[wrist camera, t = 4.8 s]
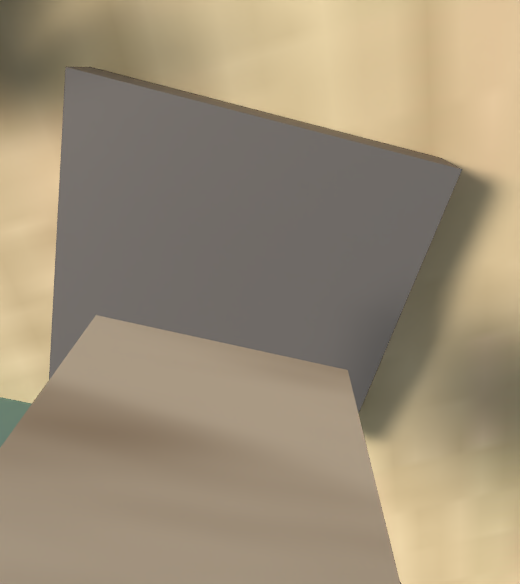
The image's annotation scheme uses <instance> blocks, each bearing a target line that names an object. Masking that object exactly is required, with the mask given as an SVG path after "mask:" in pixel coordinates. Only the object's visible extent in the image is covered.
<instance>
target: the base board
mask: <svg viewBox="0 0 520 584" xmlns="http://www.w3.org/2000/svg"><path fill="white" fill-rule="evenodd" d="M461 171H462V169H460V168H459V167H457V166H455V165H453V164H451V163H449V162H447V161H446V160H444V159H442V158H439V157H435V156H431V155H428V154H424V153H420V152H416V151H412V150H408V149H404V148H401V147H397V146H393V145H389V144H385V143H381V142H378V141H374V140H370V139H366V138H362V137H358V136H354V135H351V134H347V133H343V132H339V131H335V130H331V129H327V128H324V127H320V126H316V125H312V124H308V123H304V122H300V121H297V120H293V119H289V118H285V117H281V116H277V115H273V114H270V113H266V112H262V111H258V110H254V109H250V108H246V107H243V106H239V105H235V104H231V103H227V102H223V101H220V100H216V99H212V98H208V97H204V96H200V95H196V94H193V93H189V92H185V91H181V90H177V89H173V88H169V87H166V86H162V85H158V84H154V83H150V82H146V81H142V80H139V79H135V78H131V77H127V76H123V75H119V74H115V73H112V72H108V71H104V70H100V69H96V68H92V67H66V70H65V89H64V107H63V126H62V145H61V164H60V183H59V202H58V221H57V240H56V259H55V277H54V296H53V315H52V334H51V353H50V372H49V380H50V378H51V377H52V375H53V374H54V373H55V371H56V370H57V368H58V367H59V366H60V364H61V363H62V362H63V360H64V359H65V357H66V356H67V355H68V353H69V352H70V350H71V349H72V348H73V346H74V345H75V343H76V342H77V341H78V339H79V338H80V337H81V335H82V334H83V332H84V331H85V330H86V328H87V327H88V325H89V324H90V323H91V321H92V320H93V319H94V317H95V316H96V315H98V316H103V317H107V318H112V319H116V320H121V321H125V322H130V323H135V324H139V325H144V326H148V327H153V328H157V329H162V330H167V331H171V332H176V333H180V334H185V335H190V336H194V337H199V338H203V339H208V340H212V341H217V342H222V343H226V344H231V345H235V346H240V347H245V348H249V349H254V350H258V351H263V352H267V353H272V354H277V355H281V356H286V357H290V358H295V359H300V360H304V361H309V362H313V363H318V364H322V365H327V366H332V367H336V368H341V369H345V370H348V373H349V377H350V381H351V385H352V389H353V394H354V398H355V402H356V406H357V410H358V414H359V411H360V409H361V407H362V404H363V402H364V400H365V397H366V395H367V393H368V390H369V388H370V385H371V383H372V381H373V378H374V376H375V374H376V371H377V369H378V367H379V364H380V362H381V359H382V357H383V355H384V352H385V350H386V348H387V345H388V343H389V341H390V338H391V336H392V333H393V331H394V329H395V326H396V324H397V322H398V319H399V317H400V315H401V312H402V310H403V308H404V305H405V303H406V300H407V298H408V296H409V293H410V291H411V289H412V286H413V284H414V282H415V279H416V277H417V274H418V272H419V270H420V267H421V265H422V263H423V260H424V258H425V256H426V253H427V251H428V249H429V246H430V244H431V241H432V239H433V237H434V234H435V232H436V230H437V227H438V225H439V223H440V220H441V218H442V215H443V213H444V211H445V208H446V206H447V204H448V201H449V199H450V197H451V194H452V192H453V189H454V187H455V185H456V182H457V180H458V178H459V175H460V173H461Z"/></svg>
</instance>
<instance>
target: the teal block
mask: <svg viewBox="0 0 520 584" xmlns="http://www.w3.org/2000/svg"><path fill="white" fill-rule="evenodd" d="M30 406H31V404H30V403H26V402H21V401H16V400H11V399H6V398H1V397H0V447H1V446H2V445H3V443H4V442H5V441H6V439H7V438H8V436H9V435H10V434H11V432H12V431H13V429H14V428H15V427H16V425H17V424H18V422H19V421H20V420H21V418H22V417H23V416H24V414H25V413H26V411H27V410H28V409H29V407H30Z"/></svg>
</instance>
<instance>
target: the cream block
mask: <svg viewBox="0 0 520 584" xmlns="http://www.w3.org/2000/svg"><path fill="white" fill-rule="evenodd" d="M0 584H400V580H399V576H398V572H397V568H396V564H395V560H394V556H393V552H392V548H391V544H390V539H389V535H388V531H387V527H386V523H385V519H384V515H383V511H382V507H381V503H380V499H379V495H378V491H377V487H376V483H375V479H374V475H373V471H372V467H371V462H370V458H369V454H368V450H367V446H366V442H365V438H364V434H363V430H362V426H361V422H360V418H359V414H358V410H357V406H356V402H355V398H354V394H353V389H352V385H351V381H350V377H349V373H348V370H345V369H341V368H336V367H332V366H327V365H322V364H318V363H313V362H309V361H304V360H300V359H295V358H290V357H286V356H281V355H277V354H272V353H267V352H263V351H258V350H254V349H249V348H245V347H240V346H235V345H231V344H226V343H222V342H217V341H212V340H208V339H203V338H199V337H194V336H190V335H185V334H180V333H176V332H171V331H167V330H162V329H157V328H153V327H148V326H144V325H139V324H135V323H130V322H125V321H121V320H116V319H112V318H107V317H103V316H98V315H96V316H95V317H94V319H93V320H92V321H91V323H90V324H89V325H88V327H87V328H86V330H85V331H84V332H83V334H82V335H81V337H80V338H79V339H78V341H77V342H76V343H75V345H74V346H73V348H72V349H71V350H70V352H69V353H68V355H67V356H66V357H65V359H64V360H63V362H62V363H61V364H60V366H59V367H58V368H57V370H56V371H55V373H54V374H53V375H52V377H51V378H50V380H49V381H48V382H47V384H46V385H45V386H44V388H43V389H42V391H41V392H40V393H39V395H38V396H37V398H36V399H35V400H34V402H33V403H32V404H31V406H30V407H29V409H28V410H27V411H26V413H25V414H24V416H23V417H22V418H21V420H20V421H19V422H18V424H17V425H16V427H15V428H14V429H13V431H12V432H11V434H10V435H9V436H8V438H7V439H6V441H5V442H4V443H3V445H2V446H1V447H0Z"/></svg>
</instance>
